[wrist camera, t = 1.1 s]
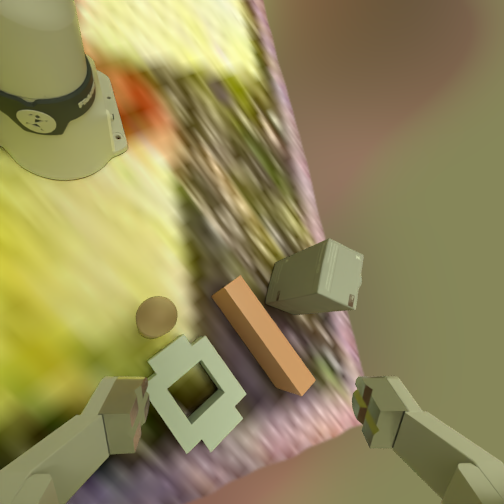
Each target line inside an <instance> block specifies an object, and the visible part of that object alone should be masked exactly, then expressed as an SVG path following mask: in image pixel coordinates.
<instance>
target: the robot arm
mask: <svg viewBox="0 0 504 504" xmlns="http://www.w3.org/2000/svg"><path fill="white" fill-rule="evenodd" d="M116 138H120V139H119V140H118V139H116ZM0 146H1V147H3V148H4V149H5V150H6V151H7V152H8V153H9V154H10V155H11V157H12V158H13V159H14V160H15V161H16V162H17V163H18V164H19V165H20V166H22V167H23V168H25V169H26V170H28V171H30V172H32V173H34V174H36V175H39V176H42V177H45V178H50V179H56V180H73V179H79V178H83V177H86V176H89V175H92V174H94V173H95V172H97V171H99V170H100V169H101V168H103V167H104V166H105V165H106V164H107V162H108V161H109V160H110V159H111V158H113V157H115V156H117V155H119V154H122V153H124V152H125V151H126V150H127V149H128V144H127V140H126V137H125V133H124V129H123V126H122V122H121V118H120V115H119V111H118V107H117V104H116V100H115V96H114V93H113V89H112V86H111V82H110V79H109V77H108V76H106V75H105V74H103V73H101V72H100V71H98V70H96V67H95V63H94V61H93V60H92V58H90V57H89V56H88V55H86V54H85V53H84V48H83V43H82V38H81V32H80V27H79V22H78V17H77V12H76V7H75V2H74V0H0ZM355 385H356V387H357V390H356V391H355V392H354V393H353V397H352V407H353V411H354V414H355V416H356V419H357V420H358V421H359V422H360V423H362V424H363V428H362V432H363V434H364V436H365V439H366V441H367V443H368V445H369V447H370V448H386V449H387V448H388V449H389V448H390V449H393V451H394V452H395V453H396V454H397V455H398V456H399V457H400V458H401V459H402V460H403V461H404V462H405V463H407V465H408V466H409V467H410V468H411V469H412V470H413V471H414V472H416V473H417V475H418V476H419V477H420V478H421V479H422V480H423V481H425V483H427V484H428V486H430V488H431V489H433V491H435V492H436V493H437V494H438V495H439V496H440V497H441V498H442V501H441V504H504V464H503V463H502V462H501V461H500V460H498V459H497V458H495V457H494V456H492V455H491V454H489V453H488V452H486V451H485V450H483V449H482V448H480V447H479V446H478V445H476V444H475V443H473V442H472V441H470V440H468V439H467V438H466V437H464V436H462V435H461V434H460V433H458V432H456V431H455V430H454V429H452V428H451V427H449V426H448V425H446V424H444V423H443V422H441V421H440V420H439V419H437V418H436V417H434V416H433V415H431V414H430V413H428V412H423V411H422V410H421V408H420V407H419V405H418V404H417V403H416V402H415V400H414V399H413V397H412V396H411V394H410V393H409V392H408V390H407V389H406V387H405V386H404V385H403V384H402V382H401V381H400V379H399V378H398V377H396V376H383V377H382V376H369V377H358V378H357V379H356V383H355ZM147 387H148V380H147V378H146V377H124V376H119V377H111V376H105V377H104V378H103V379H102V380H101V381H100V383H99V384H98V386H97V388H96V390H95V391H94V393H93V395H92V396H91V398H90V400H89V401H88V403H87V405H86V407H85V408H84V410H83V412H82V413H81V415H76V416H74V417H73V418H72V419H70V420H69V421H67V422H66V423H65V424H63V425H62V426H61V427H59V428H58V429H56V430H55V431H54V432H52V433H51V434H50V435H48V436H47V437H45V438H44V439H43V440H41V441H40V442H39V443H37V444H36V445H34V446H33V447H32V448H30V449H29V450H28V451H26V452H25V453H23V454H22V455H21V456H19V457H18V458H17V459H15V460H14V461H12V462H11V463H10V464H8V465H7V466H6V467H4V468H3V469H1V470H0V504H65V503H66V502H67V501H68V500H69V499H70V498H71V497H72V496H73V495H74V494H75V493H76V491H77V490H78V489H79V488H80V487H81V486H82V485H83V484H84V483H85V482H86V481H87V479H88V478H89V477H90V476H91V475H92V474H93V473H94V472H95V471H96V470H97V469H98V467H99V466H100V465H101V464H102V463H103V462H104V461H105V460H106V459H107V458H108V457H109V454H125V453H135V451H136V448H137V445H138V442H139V439H140V436H141V426H142V425H143V424H144V423H145V421H146V418H147V415H148V410H149V400H150V399H149V393H148V392H146V390H147Z"/></svg>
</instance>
